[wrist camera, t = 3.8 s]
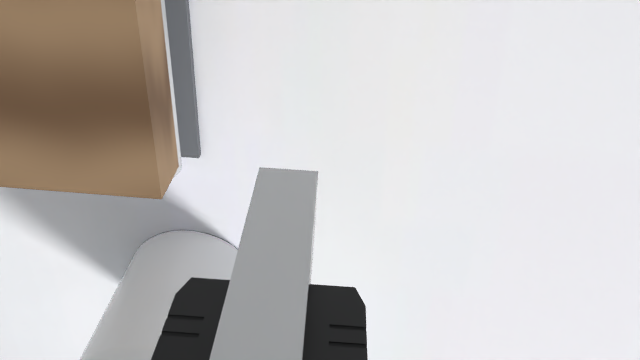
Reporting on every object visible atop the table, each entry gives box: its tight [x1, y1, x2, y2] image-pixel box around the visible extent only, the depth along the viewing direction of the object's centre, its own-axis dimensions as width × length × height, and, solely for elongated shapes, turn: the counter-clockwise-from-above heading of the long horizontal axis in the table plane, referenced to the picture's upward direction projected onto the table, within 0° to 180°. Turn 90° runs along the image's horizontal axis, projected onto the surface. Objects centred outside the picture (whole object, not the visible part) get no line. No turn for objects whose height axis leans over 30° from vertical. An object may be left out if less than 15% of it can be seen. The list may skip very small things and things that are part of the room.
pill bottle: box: [80, 230, 238, 360], centre depth 28 cm, size 8×8×11 cm
